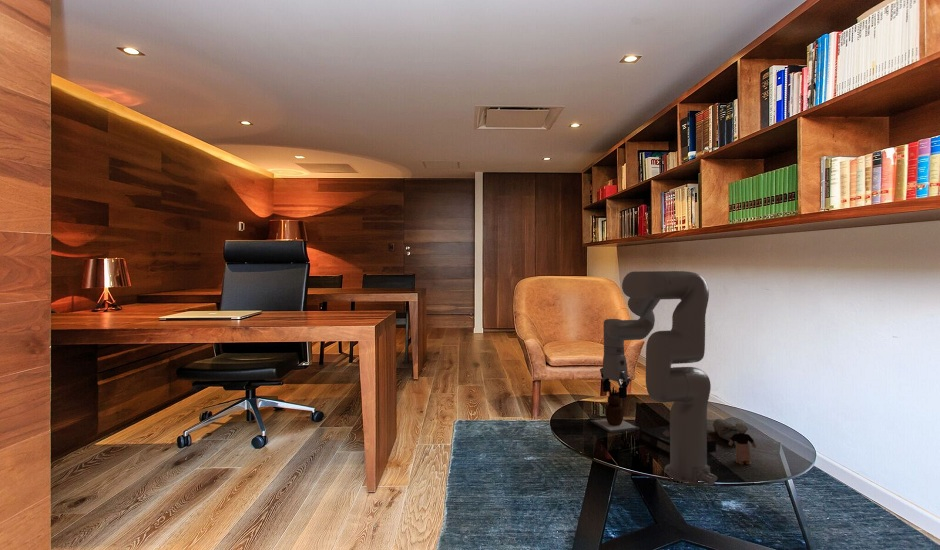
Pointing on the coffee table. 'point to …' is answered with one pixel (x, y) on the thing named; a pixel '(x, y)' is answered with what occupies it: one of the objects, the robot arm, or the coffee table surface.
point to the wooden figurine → (614, 408)
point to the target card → (614, 426)
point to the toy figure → (742, 443)
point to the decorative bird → (725, 429)
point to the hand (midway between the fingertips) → (614, 394)
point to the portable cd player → (666, 439)
